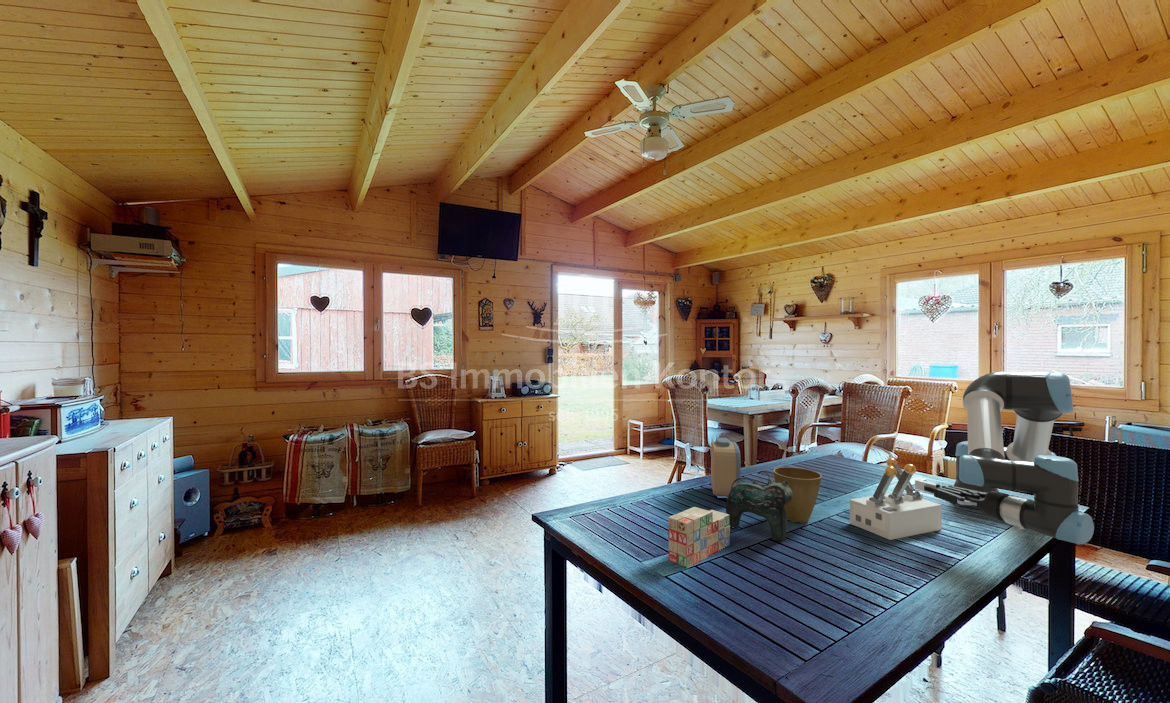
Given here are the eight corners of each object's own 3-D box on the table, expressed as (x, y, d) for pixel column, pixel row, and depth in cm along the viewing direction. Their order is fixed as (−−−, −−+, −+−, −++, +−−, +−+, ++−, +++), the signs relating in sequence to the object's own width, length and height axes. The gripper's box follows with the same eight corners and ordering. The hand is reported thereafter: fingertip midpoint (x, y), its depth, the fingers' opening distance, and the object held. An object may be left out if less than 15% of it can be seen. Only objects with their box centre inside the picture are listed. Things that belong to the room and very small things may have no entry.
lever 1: (874, 498, 151) (892, 463, 145) (882, 505, 148) (901, 470, 142) (866, 500, 150) (884, 464, 144) (875, 507, 147) (893, 471, 141)
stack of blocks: (712, 539, 142) (712, 499, 142) (730, 546, 137) (730, 504, 137) (667, 561, 128) (667, 516, 127) (686, 569, 123) (686, 522, 123)
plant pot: (773, 523, 154) (773, 475, 154) (773, 509, 168) (773, 465, 167) (823, 530, 148) (823, 480, 148) (819, 514, 162) (819, 469, 162)
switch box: (898, 514, 162) (899, 487, 162) (941, 529, 149) (941, 499, 149) (848, 523, 154) (848, 494, 154) (889, 540, 141) (889, 508, 141)
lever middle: (893, 496, 154) (911, 461, 148) (901, 502, 151) (920, 467, 145) (885, 497, 153) (903, 462, 147) (894, 504, 150) (913, 468, 144)
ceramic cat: (793, 539, 142) (793, 473, 141) (785, 546, 137) (785, 478, 137) (731, 522, 155) (731, 462, 155) (722, 528, 150) (722, 466, 150)
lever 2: (915, 499, 155) (889, 460, 164) (922, 495, 153) (895, 456, 162) (908, 500, 154) (882, 461, 163) (915, 496, 152) (888, 456, 160)
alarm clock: (740, 503, 174) (740, 445, 174) (714, 501, 176) (714, 444, 176) (734, 487, 194) (734, 435, 194) (710, 486, 196) (711, 434, 196)
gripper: (992, 526, 120) (901, 498, 142) (1022, 519, 125) (930, 493, 147) (992, 497, 120) (901, 474, 142) (1023, 491, 124) (930, 470, 147)
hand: (916, 484), depth 144 cm, fingers closed
